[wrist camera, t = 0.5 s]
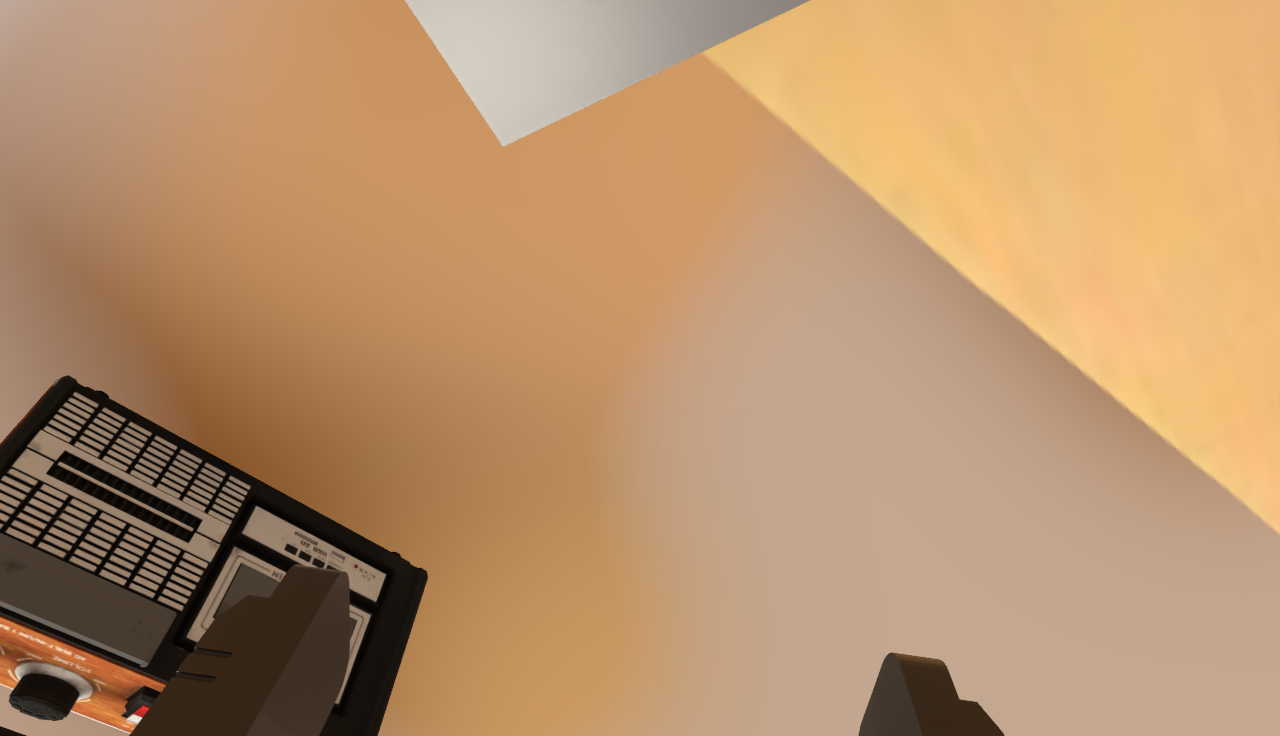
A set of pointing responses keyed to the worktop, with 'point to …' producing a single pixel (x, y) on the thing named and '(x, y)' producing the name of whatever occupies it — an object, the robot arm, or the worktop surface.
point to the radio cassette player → (161, 565)
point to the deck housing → (572, 48)
